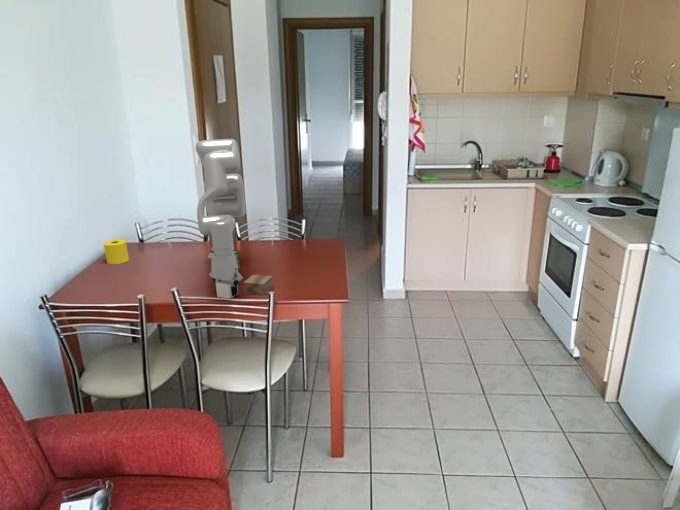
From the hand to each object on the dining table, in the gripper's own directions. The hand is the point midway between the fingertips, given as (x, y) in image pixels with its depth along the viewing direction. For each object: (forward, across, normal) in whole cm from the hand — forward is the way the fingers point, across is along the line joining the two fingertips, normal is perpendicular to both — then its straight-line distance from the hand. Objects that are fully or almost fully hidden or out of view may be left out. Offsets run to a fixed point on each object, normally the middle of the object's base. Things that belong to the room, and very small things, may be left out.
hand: (227, 293), depth 211 cm
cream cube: (+1, 0, 0) cm, 1 cm away
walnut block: (+1, +9, +9) cm, 13 cm away
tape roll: (+1, -78, +19) cm, 80 cm away
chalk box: (+1, -12, +17) cm, 21 cm away
